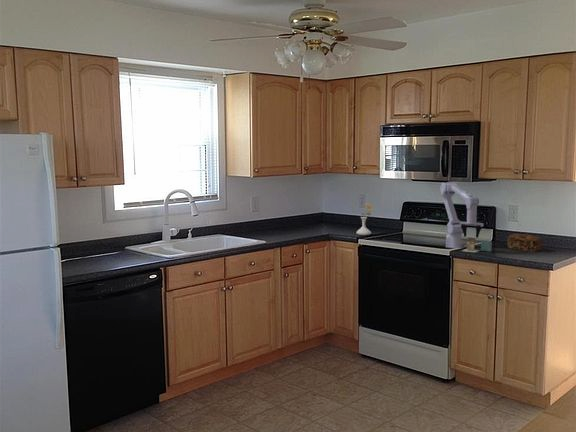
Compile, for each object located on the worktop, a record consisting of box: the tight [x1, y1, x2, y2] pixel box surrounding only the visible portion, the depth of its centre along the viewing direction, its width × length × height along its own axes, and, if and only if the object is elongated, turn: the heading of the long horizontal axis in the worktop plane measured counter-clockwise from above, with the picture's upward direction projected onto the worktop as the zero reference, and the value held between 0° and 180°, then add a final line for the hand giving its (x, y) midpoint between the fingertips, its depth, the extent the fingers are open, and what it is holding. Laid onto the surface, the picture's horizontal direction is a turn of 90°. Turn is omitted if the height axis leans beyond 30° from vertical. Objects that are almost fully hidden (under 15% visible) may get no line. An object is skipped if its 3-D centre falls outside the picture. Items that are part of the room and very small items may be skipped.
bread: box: [507, 232, 543, 253], centre depth 361 cm, size 19×11×10 cm, turn 44°
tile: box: [480, 240, 492, 252], centre depth 353 cm, size 6×1×7 cm, turn 52°
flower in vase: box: [356, 202, 374, 236], centre depth 427 cm, size 13×11×25 cm
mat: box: [461, 248, 481, 253], centre depth 355 cm, size 9×9×1 cm
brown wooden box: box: [466, 237, 476, 251], centre depth 354 cm, size 4×2×8 cm, turn 52°
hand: (471, 236), depth 354 cm, fingers open, 7 cm apart
